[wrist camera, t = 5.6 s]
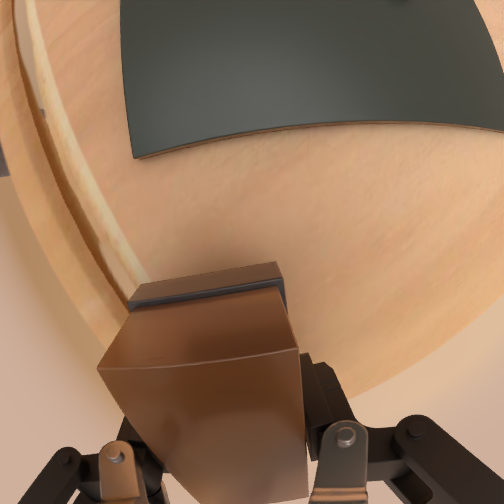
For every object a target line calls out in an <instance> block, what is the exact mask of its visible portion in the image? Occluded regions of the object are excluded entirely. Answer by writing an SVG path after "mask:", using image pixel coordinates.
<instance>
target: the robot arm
mask: <svg viewBox="0 0 504 504" xmlns="http://www.w3.org/2000/svg"><path fill="white" fill-rule="evenodd" d="M299 357H300V368H301V379H302V391H303V403H304V417H305V431H306V442H307V446H308V450H309V454H310V458H311V461H316V460H318V467H317V472H316V477H315V482H314V487H313V491H312V493H311V496H310V499H309V503H308V504H368V494H367V491H366V482H367V481H380V480H383V481H384V482H385V483H386V484H387V485H388V487H390V489H391V490H392V491H393V492H394V493H395V495H396V496H397V497H398V498H399V499H400V500H401V501H402V502H403V503H404V504H504V480H503V479H502V478H501V477H499V476H498V475H497V474H496V473H495V472H493V471H492V470H491V469H490V468H489V467H487V466H486V465H485V464H484V463H482V462H481V461H480V460H479V459H478V458H476V457H475V456H474V455H473V454H472V453H470V452H469V451H468V450H467V449H466V448H465V447H463V446H462V445H461V444H460V443H458V442H457V441H456V440H455V439H454V438H453V437H451V436H450V435H449V434H448V433H447V432H445V431H444V430H443V429H442V428H441V427H440V426H438V425H437V424H436V423H435V422H434V421H433V420H431V419H430V418H428V417H426V416H424V415H411V416H408V417H405V418H404V419H402V420H401V421H400V422H399V423H398V424H397V426H396V427H387V428H370V427H366V426H364V425H362V424H361V423H359V422H358V421H357V420H356V418H355V417H354V415H353V412H352V410H351V408H350V405H349V403H348V401H347V399H346V396H345V394H344V392H343V390H342V388H341V385H340V383H339V381H338V380H337V377H336V375H335V372H334V370H333V369H332V368H331V367H330V366H328V365H327V364H326V363H325V362H321V363H317V364H313V363H312V360H311V358H310V355H309V353H303V354H299ZM163 473H170V472H169V471H168V470H167V469H166V468H165V467H164V465H163V464H162V463H161V462H160V461H159V460H158V458H157V457H156V456H155V455H154V454H153V452H152V451H151V450H150V449H149V447H148V446H147V445H146V443H145V442H144V441H143V440H142V438H141V437H140V436H139V434H138V433H137V432H136V430H135V429H134V427H133V426H132V425H131V423H130V422H129V420H128V419H127V417H126V416H125V417H124V419H123V422H122V425H121V428H120V430H119V433H118V436H117V439H116V441H112V442H109V443H107V444H106V445H105V446H103V448H102V449H101V450H100V452H99V453H97V454H90V455H81V454H80V453H79V452H78V451H77V450H76V449H75V448H73V447H64V448H61V449H60V450H58V451H57V452H56V453H55V454H54V456H53V457H52V458H51V459H50V461H49V462H48V463H47V465H46V466H45V467H44V469H43V470H42V472H41V473H40V474H39V475H38V477H37V478H36V479H35V481H34V482H33V483H32V485H31V486H30V487H29V489H28V490H27V491H26V493H25V494H24V496H23V497H22V498H21V500H20V501H19V502H18V504H67V502H68V501H69V499H70V498H71V496H72V495H73V493H74V492H75V490H76V489H78V490H79V491H80V493H79V495H78V496H77V498H76V499H75V501H74V503H73V504H170V502H169V498H168V495H167V491H166V487H165V484H164V482H163V481H162V474H163Z"/></svg>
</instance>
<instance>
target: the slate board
mask: <svg viewBox="0 0 504 504" xmlns="http://www.w3.org/2000/svg"><path fill="white" fill-rule="evenodd" d="M120 34H121V58H122V72H123V84H124V94H125V104H126V112H127V120H128V127H129V134H130V141H131V147H132V153H133V158H134V159H145V158H148V157H152V156H156V155H159V154H163V153H167V152H171V151H175V150H179V149H183V148H187V147H191V146H196V145H200V144H205V143H209V142H214V141H219V140H224V139H230V138H235V137H241V136H247V135H253V134H259V133H266V132H273V131H281V130H289V129H298V128H307V127H318V126H331V125H347V124H379V123H399V124H429V125H444V126H456V127H466V128H474V129H482V130H489V131H495V132H501V133H504V73H503V69H502V66H501V63H500V60H499V57H498V55H497V52H496V49H495V46H494V44H493V41H492V39H491V36H490V34H489V32H488V29H487V27H486V25H485V23H484V20H483V18H482V16H481V14H480V12H479V10H478V8H477V6H476V4H475V2H474V0H120Z"/></svg>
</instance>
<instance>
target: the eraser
mask: <svg viewBox="0 0 504 504" xmlns="http://www.w3.org/2000/svg"><path fill="white" fill-rule="evenodd" d="M128 306H129V309H130V312H131V314H130V315H129V317H128V318H127V320H126V321H125V323H124V325H123V326H122V328H121V329H120V331H119V332H118V334H117V335H116V337H115V339H114V340H113V342H112V343H111V345H110V347H109V348H108V350H107V351H106V353H105V355H104V356H103V358H102V360H101V361H100V363H99V364H98V366H97V370H98V372H99V374H100V376H101V378H102V379H103V381H104V383H105V385H106V386H107V388H108V390H109V391H110V393H111V394H112V396H113V398H114V399H115V401H116V402H117V404H118V405H119V407H120V409H121V410H122V412H123V413H124V415H125V416H126V417H127V419H128V420H129V422H130V423H131V425H132V426H133V427H134V429H135V430H136V432H137V433H138V434H139V436H140V437H141V438H142V440H143V441H144V442H145V443H146V445H147V446H148V447H149V449H150V450H151V451H152V452H153V454H154V455H155V456H156V457H157V458H158V460H159V461H160V462H161V463H162V464H163V465H164V467H165V468H166V469H167V470H168V471H169V472H170V473H171V474H172V476H173V477H174V478H175V479H176V480H177V481H178V482H179V483H180V484H181V485H182V486H183V487H184V488H185V489H186V490H187V491H188V492H189V493H190V494H191V495H192V496H193V497H194V498H195V499H196V500H197V501H198V502H199V503H200V504H268V503H276V502H282V501H289V500H295V499H300V498H306V497H308V496H309V491H308V466H307V448H306V431H305V417H304V403H303V391H302V379H301V368H300V357H299V347H298V344H297V342H296V339H295V336H294V333H293V330H292V327H291V324H290V321H289V318H288V311H287V303H286V295H285V288H284V280H283V277H282V274H281V272H280V270H279V267H278V265H277V263H276V262H275V261H274V262H269V263H263V264H257V265H252V266H246V267H240V268H235V269H229V270H223V271H217V272H211V273H206V274H200V275H194V276H188V277H182V278H176V279H170V280H164V281H158V282H151V283H145V284H141V285H140V286H139V288H138V289H137V290H136V292H135V293H134V294H133V296H132V297H131V298H130V300H129V301H128Z"/></svg>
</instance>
